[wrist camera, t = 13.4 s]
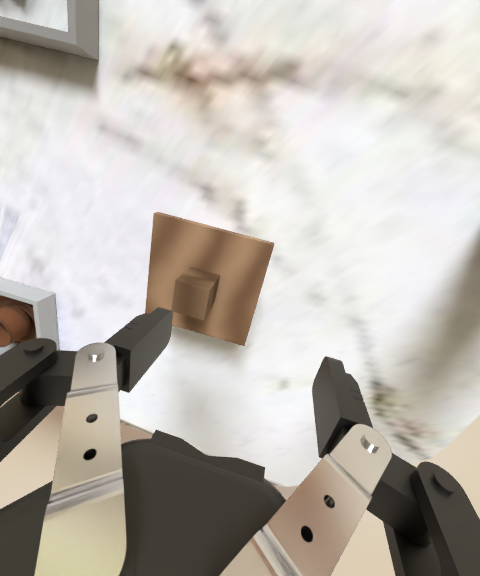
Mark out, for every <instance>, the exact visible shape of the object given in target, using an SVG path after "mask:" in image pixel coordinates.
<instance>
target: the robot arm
mask: <svg viewBox="0 0 480 576" xmlns="http://www.w3.org/2000/svg"><path fill="white" fill-rule="evenodd" d="M172 320H173V311H171V310H168V309H164V308H161V307H157V308H156V309H155V310H154V311H153V312H152V313H150V314H148V313H145V314H142V315H139V316H137V317H135V318H134V319H133V320H132V321H130V323H128V324H127V325H125V326H124V328H122V329H121V330H119V331H118V332H117V333H116V334H114V335H113V336H112V337H111V338H109V339H108V340H107V341H106V342H104V343H93V344H89V345H86V346H84V347H83V348H81V349H80V350H79V351H61V350H57V345H56V342H55V341H53V340H51V339H47V338H35V339H30V340H27V341H24V342H21V343H19V344H18V345H16V346H14V347H13V348H11V349H9V350H8V351H6V352H4V353H3V354H1V355H0V406H1V405H2V404H3V403H4V402H5V401H7V400H8V399H9V398H10V397H12V396H13V395H14V394H15V393H17V392H18V391H19V393H18V394H17V395H16V396H14V397H13V398H12V399H11V400H9V401H8V402H7V403H6V404H4V405H3V406H2V407H1V408H0V462H1V461H2V460H3V459H4V457H6V456H7V455H8V454H9V453H10V452H11V451H12V450H13V449H14V448H15V447H16V446H17V445H18V444H19V443H20V442H21V441H22V439H24V438H25V437H26V436H27V435H28V434H29V433H30V432H31V431H32V430H33V429H34V428H35V427H36V426H37V425H38V424H39V423H40V422H41V421H42V420H43V419H44V418H45V417H46V416H47V415H48V414H49V413H50V412H51V411H52V410H53V409H54V408H55V407H56V406H65V409H64V415H63V421H62V427H61V434H60V440H59V446H58V452H57V458H56V465H55V471H54V477H53V481H51V482H50V483H48V484H46V485H44V486H42V487H40V488H38V489H37V490H35V491H33V492H32V493H30V494H27V495H26V496H24V497H22V498H20V499H18V500H16V501H15V502H13V503H11V504H9V505H7V506H5V507H4V508H2V509H0V576H331V574H332V572H333V570H334V568H335V566H336V564H337V562H338V561H339V559H340V557H341V555H342V553H343V551H344V549H345V547H346V546H347V544H348V542H349V539H350V538H351V536H352V534H353V532H354V531H355V529H356V527H357V525H358V523H359V521H360V519H361V517H362V516H363V514H364V512H365V510H366V509H367V510H368V511H369V512H371V513H372V514H374V515H375V516H376V517H378V518H379V519H381V520H382V521H383V523H384V528H385V532H386V536H387V540H388V545H389V549H390V554H391V558H392V562H393V567H394V571H395V575H396V576H480V519H479V517H478V516H477V514H476V512H475V510H474V508H473V506H472V504H471V502H470V500H469V499H468V497H467V495H466V493H465V491H464V490H463V488H462V487H461V485H460V484H459V483H458V482H457V481H456V480H455V479H454V478H453V476H451V475H450V474H449V473H448V472H447V471H445V470H444V469H443V468H441V467H439V466H438V465H435V464H433V463H430V462H422V463H420V464H419V465H418V467H417V468H416V467H414V466H413V465H411V464H409V463H408V462H406V461H404V460H402V459H401V458H399V457H397V456H396V455H394V454H393V453H392V452H391V448H390V446H389V444H388V443H387V441H386V440H385V438H384V437H383V436H382V435H381V434H380V433H379V432H377V431H376V430H375V429H373V427H372V424H371V421H370V418H369V415H368V412H367V409H366V406H365V403H364V402H363V397H362V395H361V392H360V389H359V386H358V383H357V382H356V381H355V379H354V378H353V377H352V376H351V374H348V373H345V370H344V366H343V363H342V361H340V360H337V359H333V358H330V357H325V358H324V359H323V361H322V363H321V366H320V368H319V370H318V373H317V375H316V377H315V379H314V383H313V388H312V395H313V404H314V414H315V423H316V433H317V443H318V452H319V457H320V458H323V459H322V460H321V461H320V462H319V463H318V465H317V466H316V467H315V468H314V469H313V470H312V471H311V473H310V474H309V475H308V476H307V477H306V478H305V480H304V481H303V482H302V483H301V484H300V485H299V487H298V488H297V489H296V490H295V491H294V493H293V494H292V495H291V496H290V497H289V498H288V500H287V501H286V500H285V499H284V497H283V496H282V495H281V493H280V492H279V491H278V490H277V489H276V488H275V487H274V486H273V485H272V484H271V483H270V482H269V481H267V480H266V479H264V471H265V467H262V466H259V465H256V464H253V463H251V462H248V461H245V460H242V459H239V458H231V457H216V456H207V455H205V454H203V453H202V452H200V451H199V450H197V449H196V448H195V447H193V446H192V445H190V444H189V443H187V442H186V441H184V440H183V439H181V438H178V437H175V436H172V435H170V434H167V433H164V432H161V431H158V430H156V431H155V433H154V434H153V436H152V438H151V439H137V440H132V441H129V442H125V443H123V444H121V436H120V415H119V395H118V392H119V391H120V390H122V391H125V392H128V393H129V392H130V391H131V390H132V389H133V387H134V386H135V385H136V384H137V382H138V381H139V380H140V379H141V377H142V376H143V375H144V374H145V372H146V371H147V370H148V369H149V367H150V366H151V365H152V364H153V362H154V361H155V360H156V359H157V357H158V356H159V355H160V354H161V353H162V351H163V350H164V349H165V348H166V346H167V344H168V342H169V340H170V336H171V329H172Z"/></svg>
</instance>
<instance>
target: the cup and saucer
mask: <svg viewBox="0 0 480 576" xmlns="http://www.w3.org/2000/svg"><path fill="white" fill-rule="evenodd" d="M35 338H37V335H36V327H35V319H34V311H33V307H32V306H30V305H29V304H28V303H25V302H22V301H19V300H15V299H12V298H9V297H5V296H2V295H0V347H6V346H8V345H10V344H11V343H13V342H15V343H18V344H19V343H21V342H24V341H27V340H30V339H35Z"/></svg>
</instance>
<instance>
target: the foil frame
mask: <svg viewBox="0 0 480 576" xmlns="http://www.w3.org/2000/svg"><path fill="white" fill-rule="evenodd" d="M67 6H68V32H64V31H60V30H56V29H52V28H48V27H43V26H39V25H35V24H31V23H26V22H22V21H18V20H14V19H10V18H5V17H1V16H0V37H4V38H8V39H12V40H16V41H20V42H24V43H28V44H33V45H37V46H41V47H45V48H49V49H53V50H57V51H62V52H66V53H70V54H74V55H78V56H82V57H86V58H91V59H95V60H99V0H67Z"/></svg>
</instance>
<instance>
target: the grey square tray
mask: <svg viewBox="0 0 480 576" xmlns="http://www.w3.org/2000/svg"><path fill="white" fill-rule="evenodd" d="M0 295H2V296H5V297H9V298H12V299H15V300H19V301H22V302H25V303H29V304H32V305H33V311H34V319H35V327H36V335H37V338H47V339H51V340H53V341H55V342H56V345H57V350H59V338H58V326H57V313H56V300H55V293H52V292H48V291H45V290H42V289H38V288H35V287H32V286H28V285H25V284H22V283H18V282H15V281H12V280H8V279H5V278H2V277H0ZM16 345H17V344H14V343H11V344H10V345H8V346H6V347H0V355H1V354H3V353H4V352H6V351H8V350H9V349H11V348H13V347H14V346H16Z"/></svg>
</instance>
